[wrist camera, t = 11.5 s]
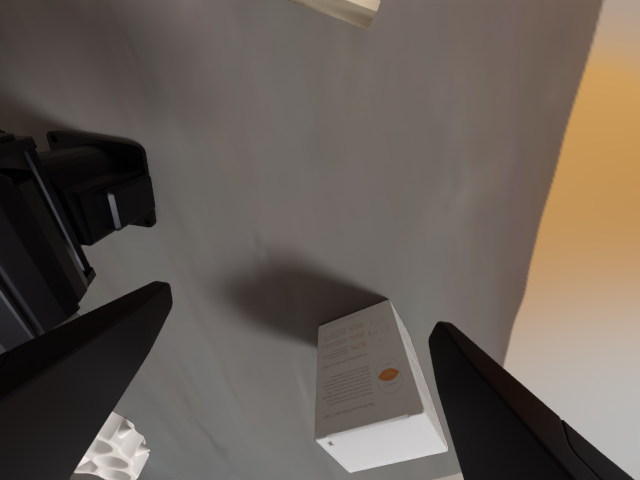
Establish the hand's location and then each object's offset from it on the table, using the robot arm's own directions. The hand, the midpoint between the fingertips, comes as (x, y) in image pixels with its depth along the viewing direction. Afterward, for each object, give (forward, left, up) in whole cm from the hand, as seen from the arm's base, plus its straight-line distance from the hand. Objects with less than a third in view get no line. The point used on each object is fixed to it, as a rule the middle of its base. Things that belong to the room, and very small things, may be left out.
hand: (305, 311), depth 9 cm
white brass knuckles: (-26, -42, -14) cm, 51 cm away
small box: (+7, -14, -13) cm, 21 cm away
